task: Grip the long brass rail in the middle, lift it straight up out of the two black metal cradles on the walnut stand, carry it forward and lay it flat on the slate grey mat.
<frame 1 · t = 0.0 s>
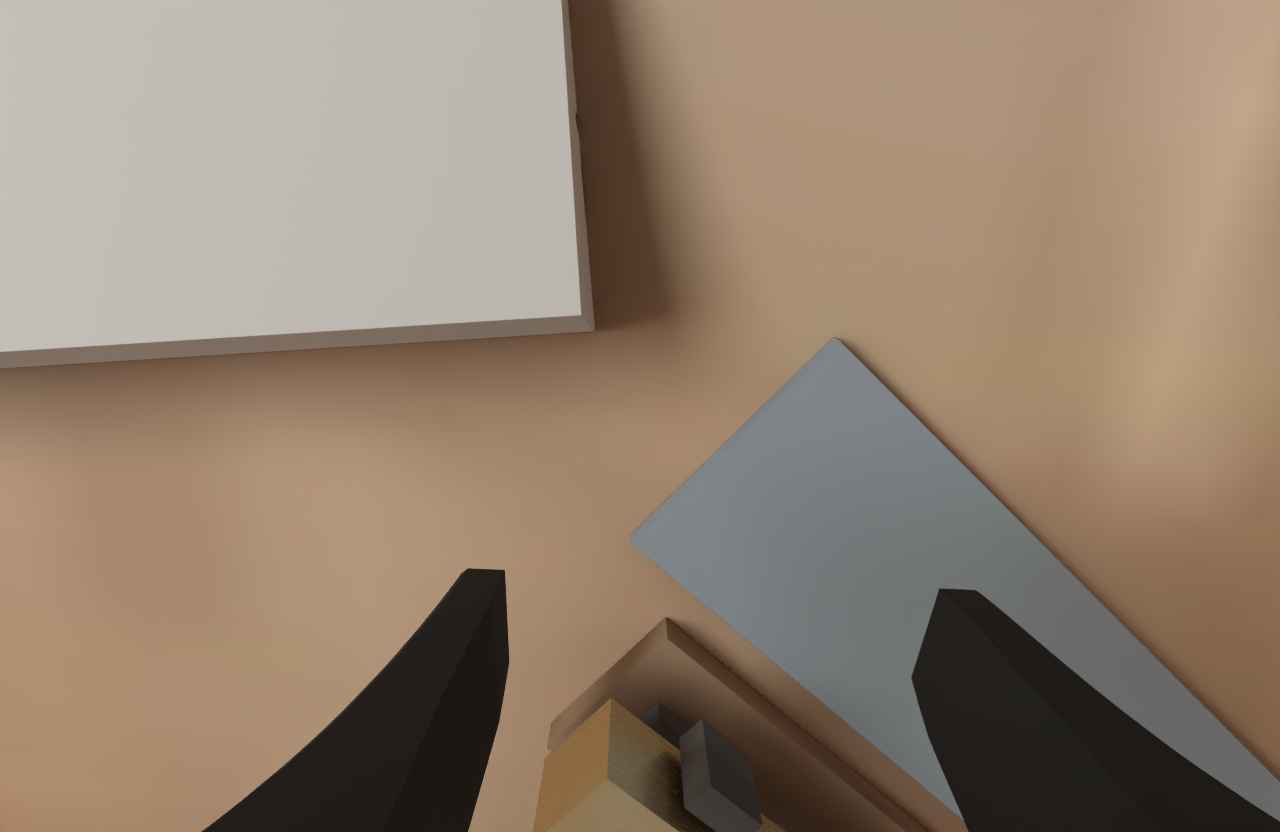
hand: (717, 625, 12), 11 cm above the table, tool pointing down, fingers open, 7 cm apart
mat: (1021, 708, 25), on the table
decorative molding: (2, 180, 20), on the table
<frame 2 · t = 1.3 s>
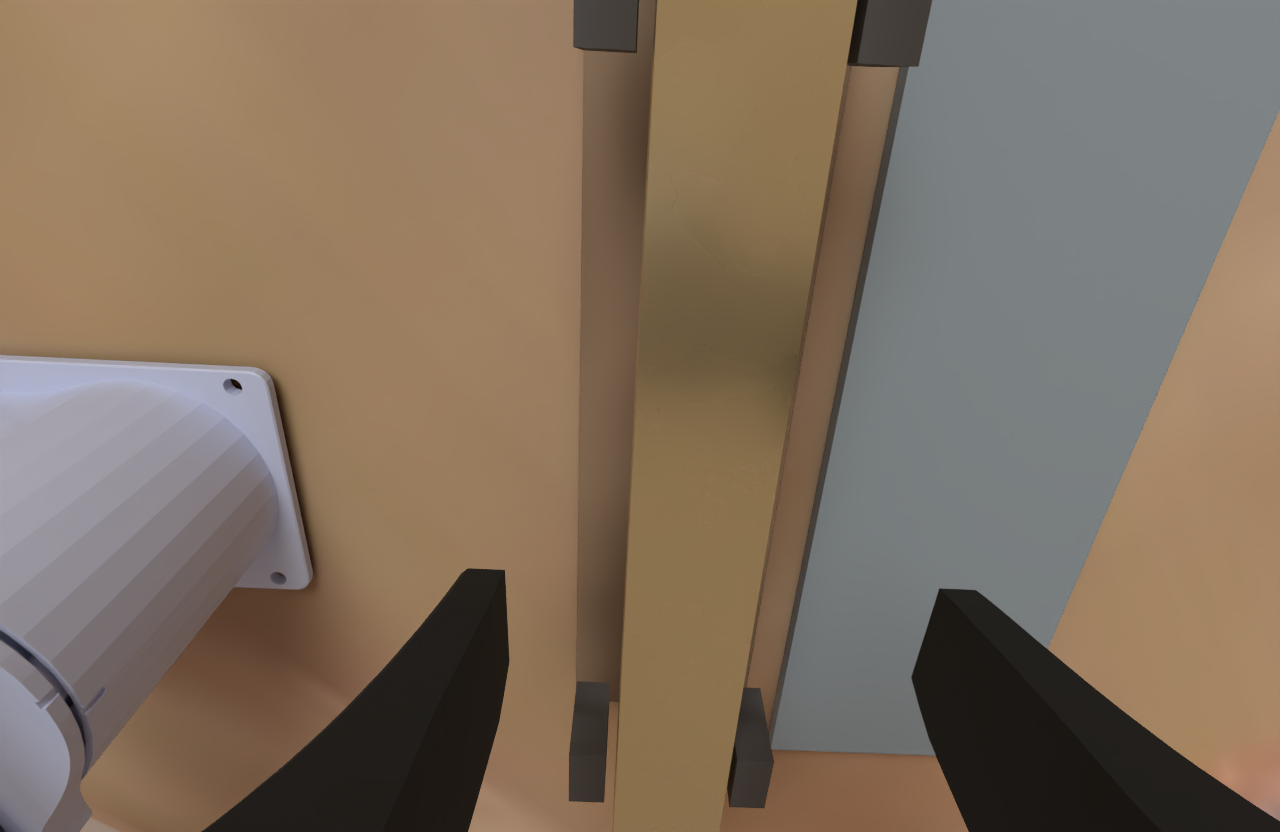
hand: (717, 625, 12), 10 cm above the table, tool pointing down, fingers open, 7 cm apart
mat: (986, 398, 20), on the table
rail stand: (684, 384, 20), on the table
rail: (692, 441, 17), point 3 cm above the table, touching rail stand
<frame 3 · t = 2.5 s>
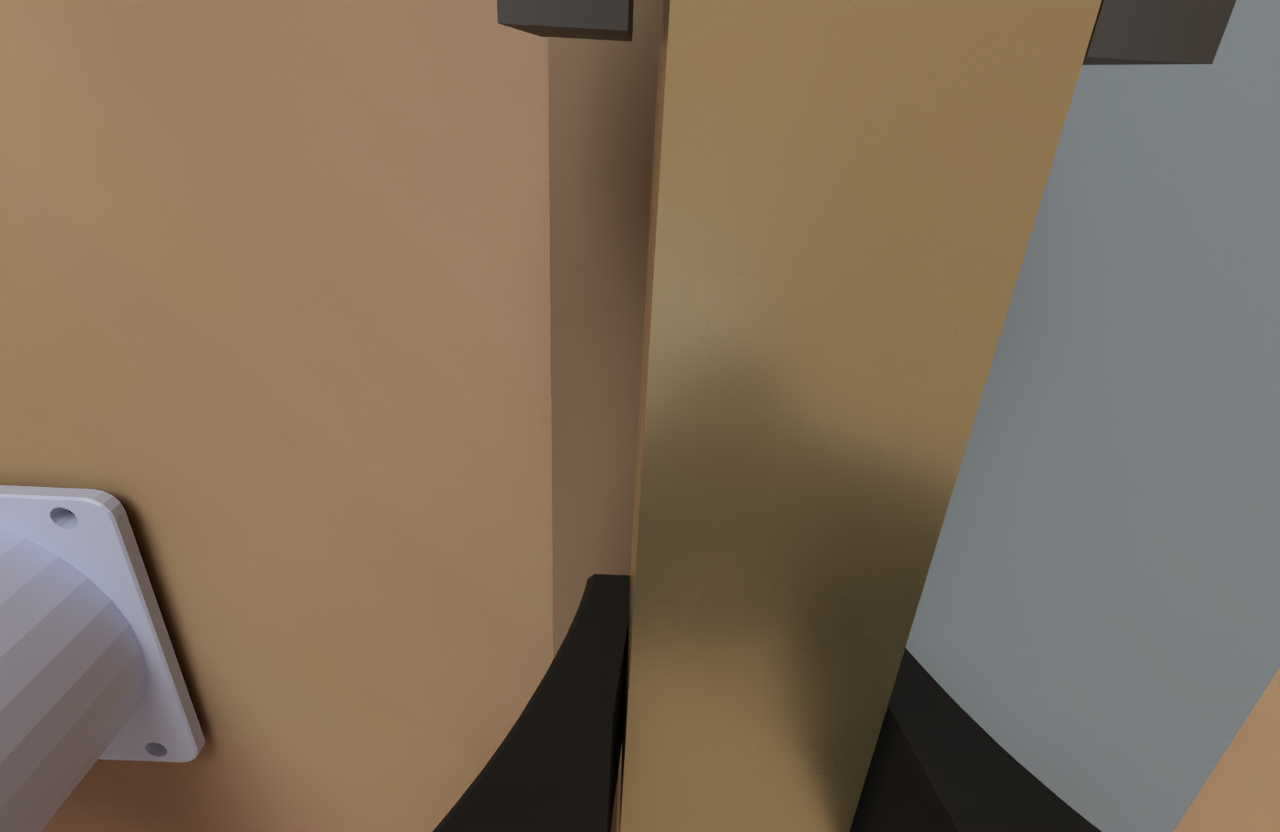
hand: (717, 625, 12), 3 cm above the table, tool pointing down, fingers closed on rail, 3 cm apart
mat: (1120, 527, 15), on the table
rail stand: (701, 509, 15), on the table
rail: (717, 629, 11), point 3 cm above the table, touching gripper, rail stand
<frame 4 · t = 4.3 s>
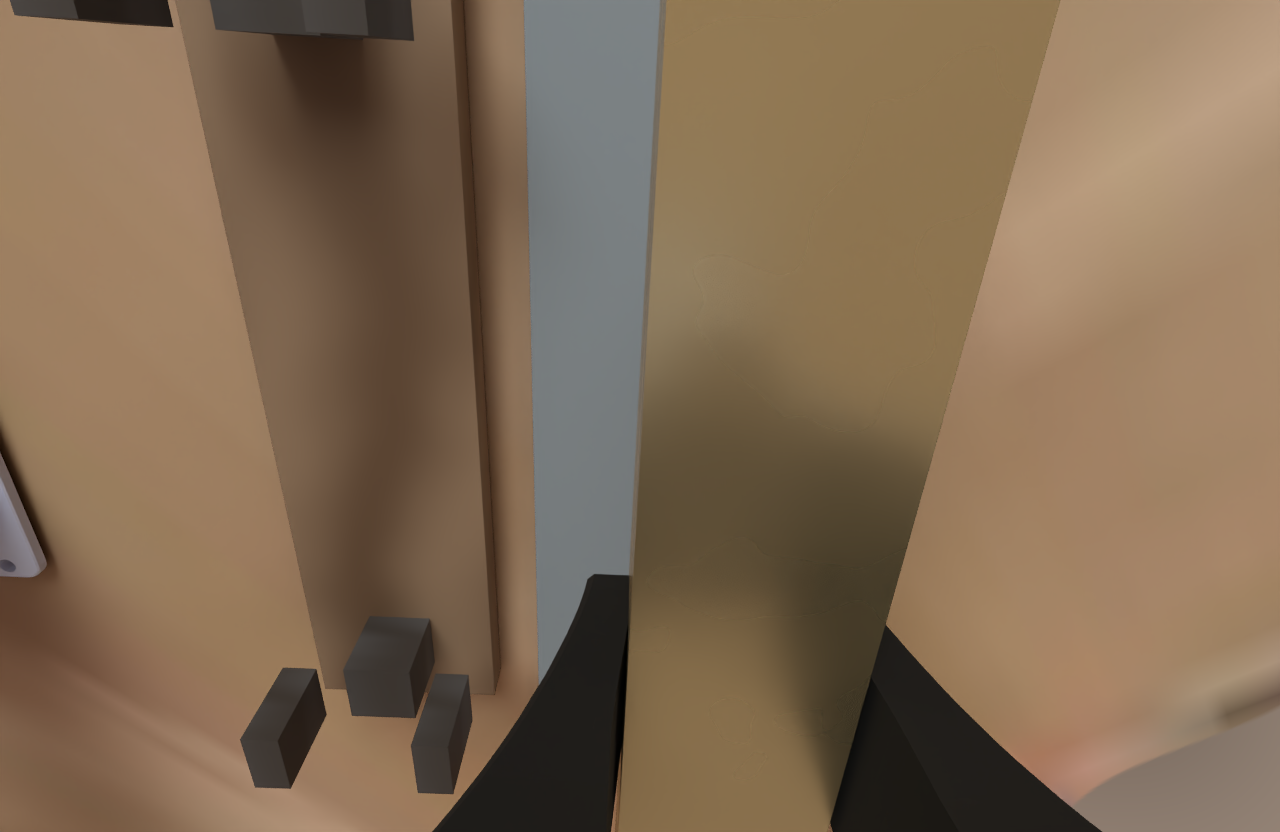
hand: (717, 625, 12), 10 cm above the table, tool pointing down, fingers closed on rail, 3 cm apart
mat: (687, 383, 20), on the table
rail stand: (381, 368, 20), on the table
rail: (713, 606, 12), point 10 cm above the table, touching gripper
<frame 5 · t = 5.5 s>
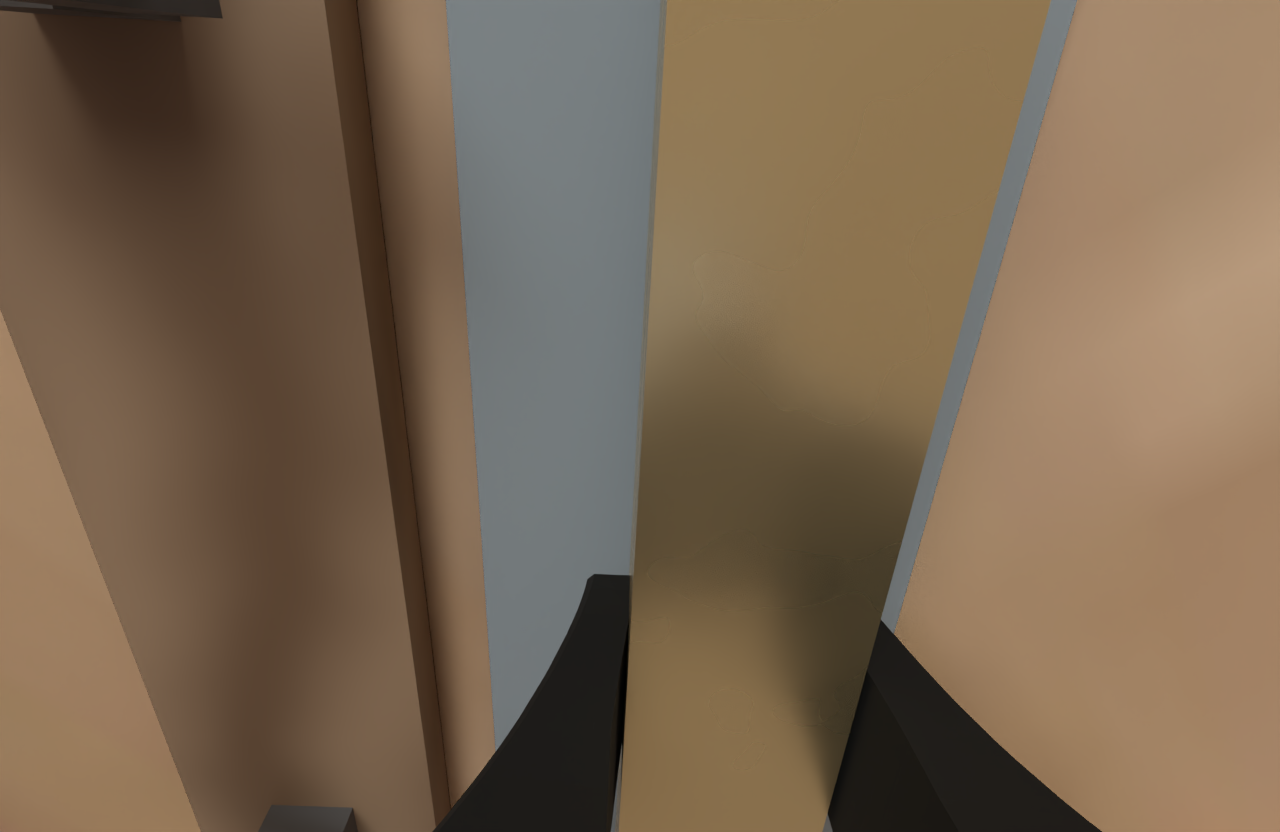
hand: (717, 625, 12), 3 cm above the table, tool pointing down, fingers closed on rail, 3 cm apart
mat: (700, 510, 15), on the table
rail stand: (269, 491, 14), on the table
rail: (713, 600, 12), point 3 cm above the table, touching gripper
when the fingers open (2 cm above the table, at t = 6.2 s): rail stays where it is, resting on mat.
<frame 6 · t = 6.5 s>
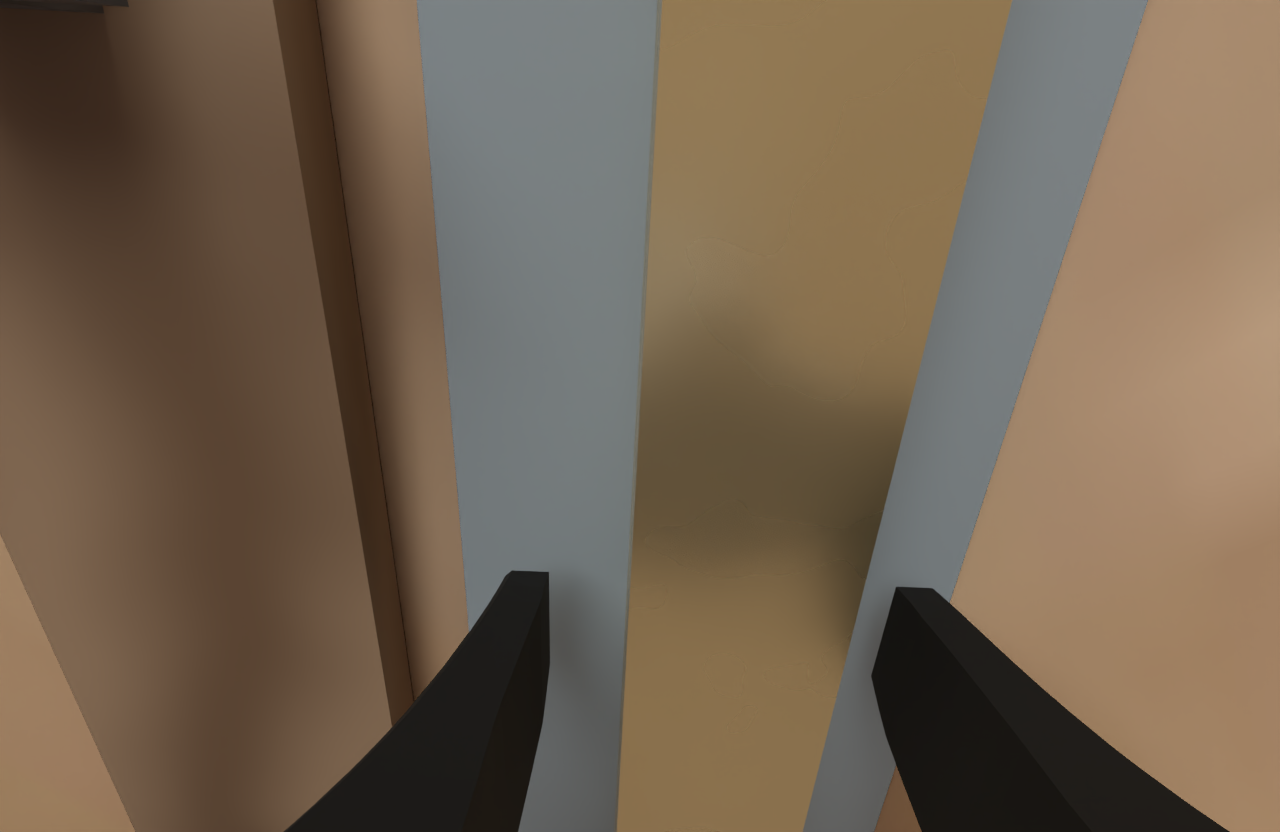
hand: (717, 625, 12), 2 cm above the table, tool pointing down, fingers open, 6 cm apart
mat: (707, 557, 13), on the table
rail stand: (231, 536, 13), on the table
rail: (709, 578, 13), point 1 cm above the table, touching mat
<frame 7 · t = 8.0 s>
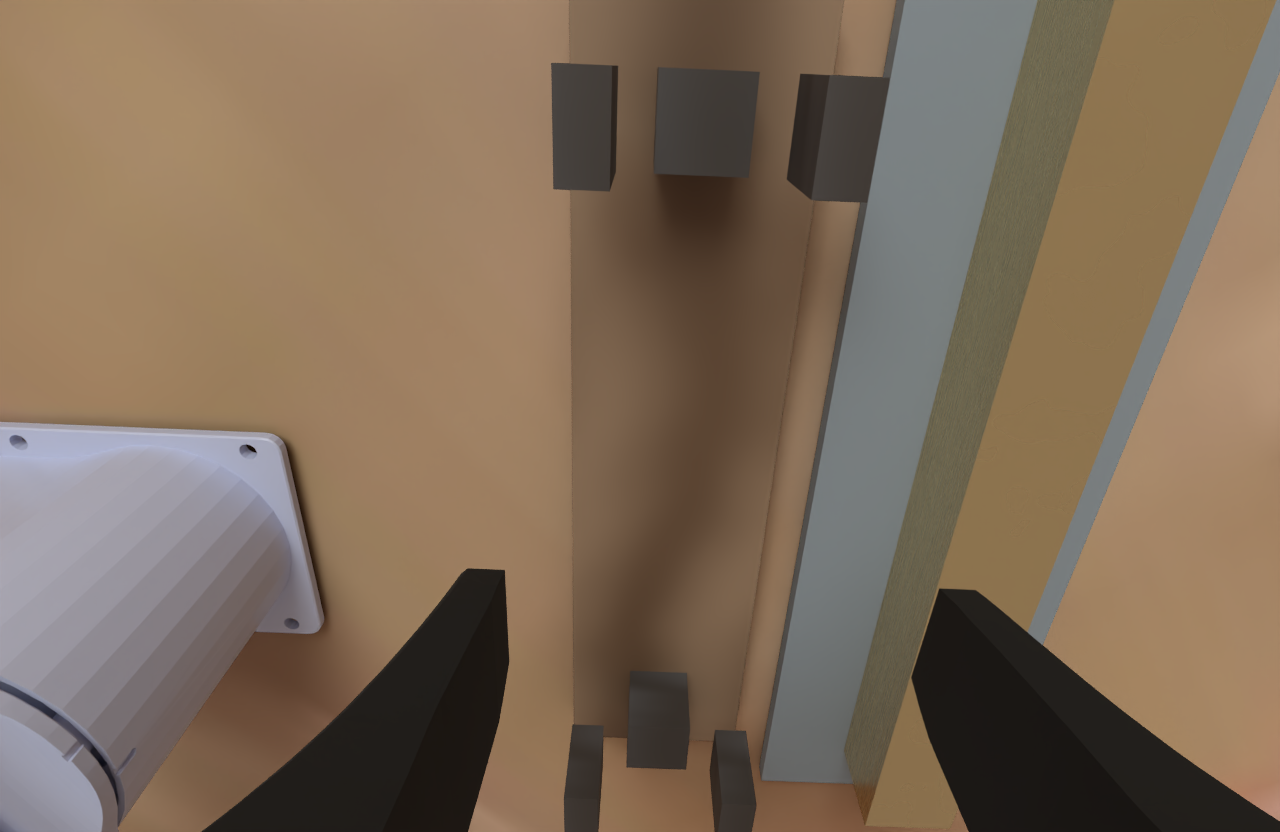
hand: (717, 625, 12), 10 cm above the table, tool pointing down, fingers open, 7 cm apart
mat: (959, 456, 22), on the table
rail stand: (672, 445, 21), on the table
rail: (966, 467, 21), point 1 cm above the table, touching mat
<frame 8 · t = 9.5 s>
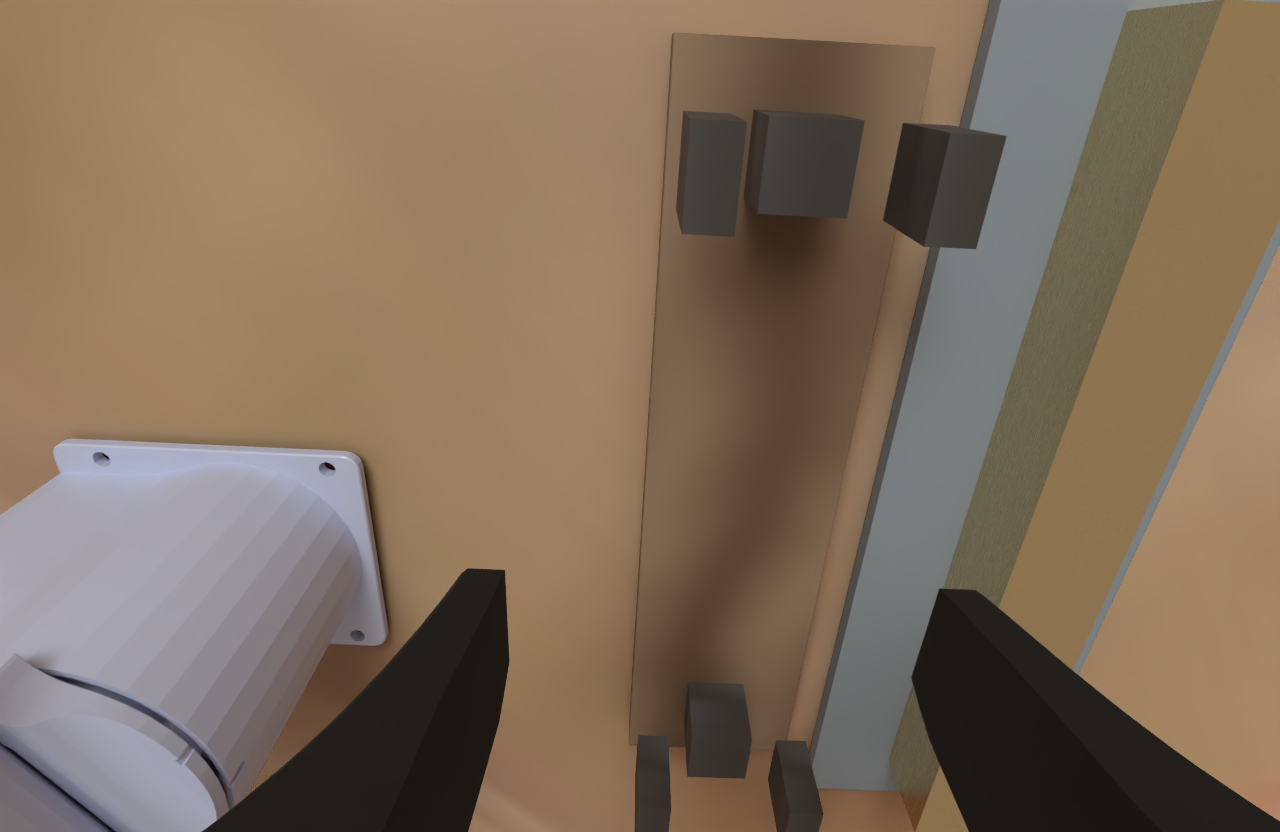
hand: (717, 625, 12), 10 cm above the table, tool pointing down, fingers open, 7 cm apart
mat: (1014, 477, 22), on the table
rail stand: (738, 464, 22), on the table
rail: (1022, 487, 22), point 1 cm above the table, touching mat
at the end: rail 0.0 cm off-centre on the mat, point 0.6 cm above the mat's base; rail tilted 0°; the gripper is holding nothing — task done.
